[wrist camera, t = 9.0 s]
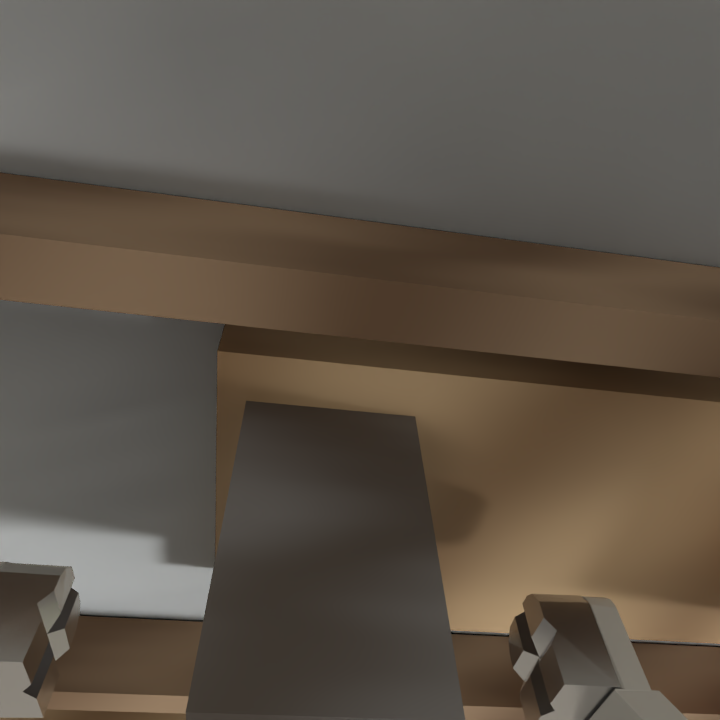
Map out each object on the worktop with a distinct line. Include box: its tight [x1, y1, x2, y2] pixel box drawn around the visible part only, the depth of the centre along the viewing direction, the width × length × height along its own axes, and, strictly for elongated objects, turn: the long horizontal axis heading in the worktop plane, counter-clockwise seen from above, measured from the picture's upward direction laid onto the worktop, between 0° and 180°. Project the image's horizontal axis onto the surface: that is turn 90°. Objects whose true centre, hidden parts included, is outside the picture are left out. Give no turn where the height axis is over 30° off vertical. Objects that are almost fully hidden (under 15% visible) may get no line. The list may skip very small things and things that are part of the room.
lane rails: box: [0, 173, 720, 720], centre depth 16 cm, size 32×26×2 cm
